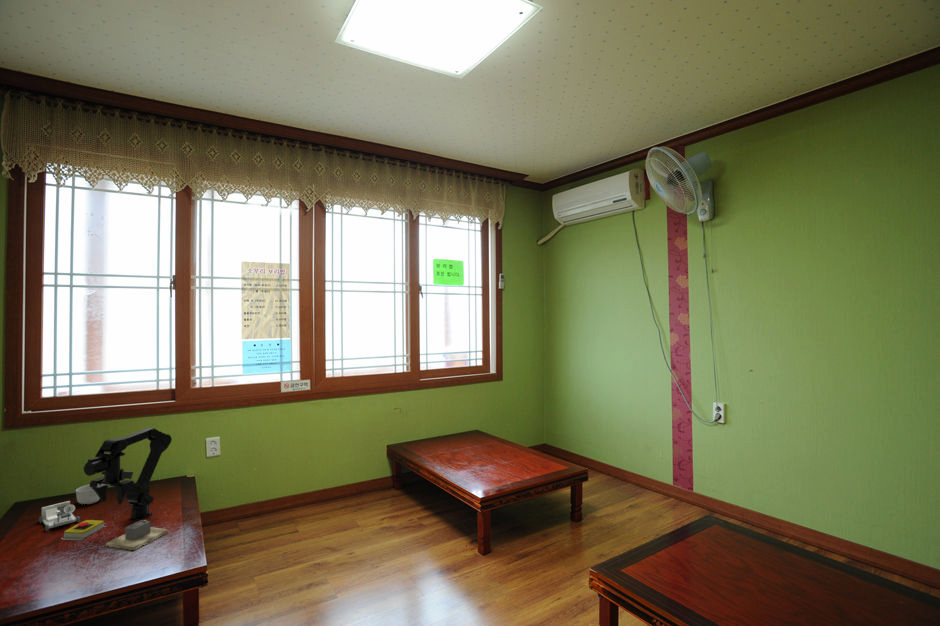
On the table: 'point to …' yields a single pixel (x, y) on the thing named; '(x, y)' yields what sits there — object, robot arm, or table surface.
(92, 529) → the emergency button
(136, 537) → the grey open bin
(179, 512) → the table surface
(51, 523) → the white mechanical fixture
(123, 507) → the table surface
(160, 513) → the table surface
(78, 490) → the teacup
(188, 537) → the table surface
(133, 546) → the switch plate
